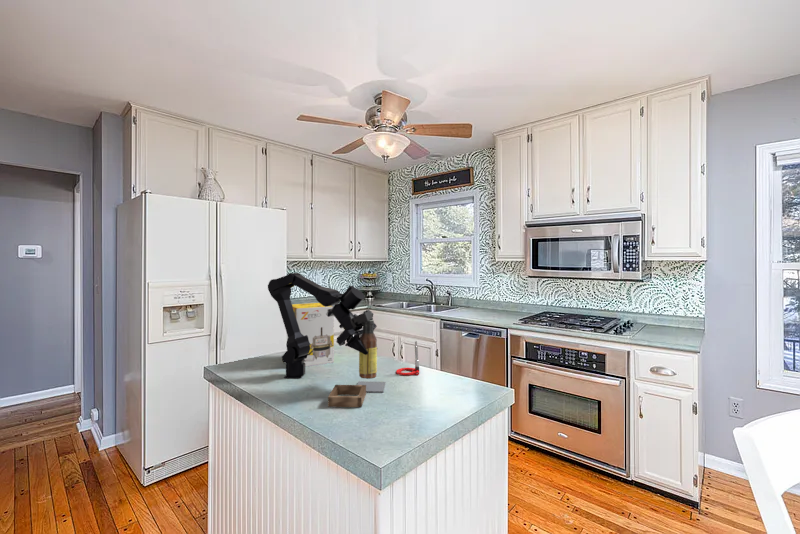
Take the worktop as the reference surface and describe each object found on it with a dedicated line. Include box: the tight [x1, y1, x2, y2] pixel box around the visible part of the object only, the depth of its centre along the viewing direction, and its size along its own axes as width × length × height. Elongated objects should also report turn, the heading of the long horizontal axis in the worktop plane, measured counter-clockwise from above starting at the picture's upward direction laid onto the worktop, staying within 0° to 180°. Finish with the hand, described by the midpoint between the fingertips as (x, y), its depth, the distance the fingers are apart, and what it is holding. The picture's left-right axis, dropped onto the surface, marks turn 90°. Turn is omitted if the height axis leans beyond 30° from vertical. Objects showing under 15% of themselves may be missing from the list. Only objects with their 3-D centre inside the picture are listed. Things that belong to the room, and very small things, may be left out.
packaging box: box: [291, 302, 335, 368], centre depth 167 cm, size 16×16×25 cm
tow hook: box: [395, 340, 420, 377], centre depth 149 cm, size 8×13×9 cm
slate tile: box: [356, 380, 387, 394], centre depth 132 cm, size 10×10×1 cm
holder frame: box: [327, 384, 367, 408], centre depth 120 cm, size 10×11×3 cm
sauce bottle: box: [358, 319, 378, 380], centre depth 130 cm, size 6×6×20 cm
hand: (371, 351), depth 129 cm, fingers closed on sauce bottle, 6 cm apart
